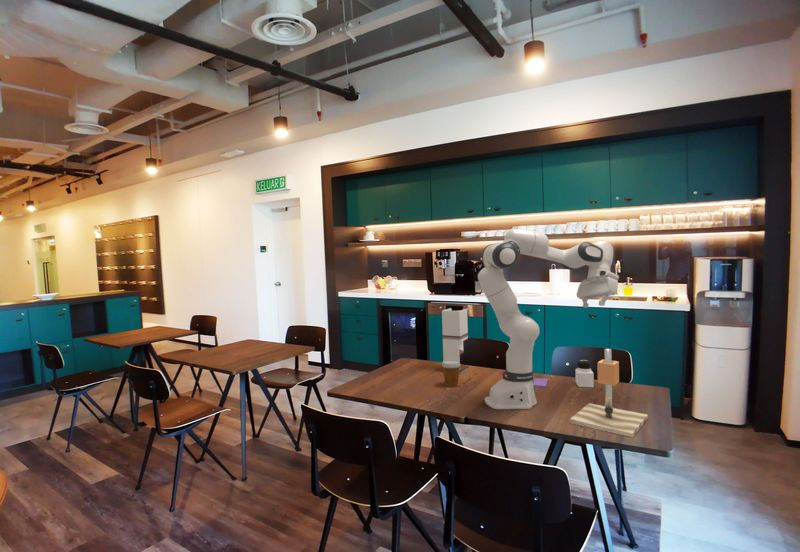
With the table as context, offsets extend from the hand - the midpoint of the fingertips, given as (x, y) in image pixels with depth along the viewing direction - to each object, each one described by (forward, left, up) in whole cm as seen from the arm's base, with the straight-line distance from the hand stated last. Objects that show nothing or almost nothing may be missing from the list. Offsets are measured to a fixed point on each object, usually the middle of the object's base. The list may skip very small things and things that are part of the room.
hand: (593, 306), depth 186 cm
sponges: (-11, +29, -43) cm, 53 cm away
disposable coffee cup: (-55, +38, -42) cm, 79 cm away
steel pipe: (-8, -21, -40) cm, 46 cm away
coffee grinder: (-45, +64, -42) cm, 89 cm away
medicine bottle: (+8, +22, -42) cm, 48 cm away
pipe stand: (-8, -21, -42) cm, 48 cm away
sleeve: (-8, -21, -27) cm, 35 cm away
